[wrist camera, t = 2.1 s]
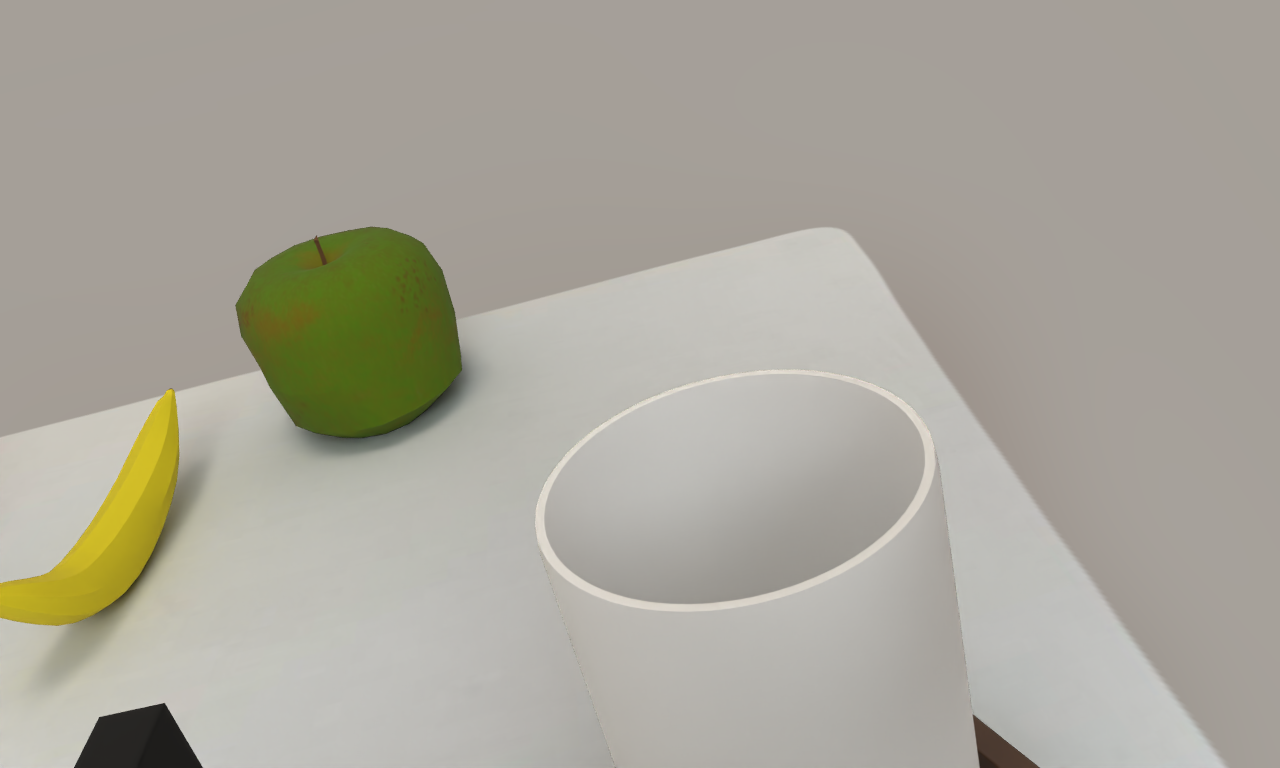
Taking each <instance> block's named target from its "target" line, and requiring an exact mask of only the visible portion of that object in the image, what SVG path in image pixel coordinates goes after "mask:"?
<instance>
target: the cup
mask: <svg viewBox="0 0 1280 768" xmlns="http://www.w3.org/2000/svg"><path fill="white" fill-rule="evenodd" d="M535 530H536V535H537V540H538V545H539V550H540V554H541V558H542V560H543V563H544V566H545V569H546V572H547V575H548V578H549V580H550V583H551V586H552V589H553V592H554V595H555V598H556V600H557V603H558V606H559V609H560V612H561V615H562V618H563V620H564V623H565V626H566V629H567V632H568V635H569V638H570V640H571V643H572V646H573V649H574V652H575V655H576V657H577V660H578V663H579V666H580V669H581V671H582V674H583V677H584V680H585V683H586V686H587V688H588V691H589V694H590V697H591V700H592V703H593V705H594V708H595V711H596V714H597V717H598V720H599V722H600V725H601V728H602V731H603V734H604V736H605V739H606V742H607V745H608V748H609V751H610V753H611V756H612V759H613V762H614V765H615V768H980V766H979V759H978V751H977V744H976V736H975V729H974V721H973V714H972V706H971V699H970V691H969V684H968V676H967V669H966V661H965V654H964V646H963V639H962V631H961V624H960V616H959V608H958V601H957V593H956V586H955V578H954V571H953V563H952V556H951V549H950V541H949V534H948V527H947V519H946V512H945V505H944V497H943V490H942V483H941V475H940V468H939V463H938V458H937V454H936V451H935V447H934V443H933V440H932V437H931V435H930V432H929V430H928V428H927V426H926V425H925V423H924V422H923V420H922V419H921V417H920V416H919V415H918V414H917V413H916V412H915V411H914V410H913V409H912V408H911V407H910V406H909V405H908V404H907V403H905V402H904V401H903V400H901V399H900V398H898V397H897V396H895V395H894V394H892V393H890V392H888V391H887V390H885V389H883V388H881V387H878V386H876V385H873V384H871V383H869V382H866V381H862V380H859V379H856V378H853V377H848V376H844V375H840V374H834V373H828V372H821V371H812V370H794V369H786V370H760V371H751V372H742V373H736V374H729V375H724V376H719V377H714V378H709V379H705V380H701V381H698V382H694V383H690V384H687V385H684V386H681V387H677V388H674V389H672V390H669V391H666V392H663V393H661V394H658V395H656V396H653V397H651V398H649V399H646V400H644V401H642V402H640V403H638V404H636V405H634V406H632V407H630V408H628V409H626V410H624V411H622V412H621V413H619V414H617V415H615V416H614V417H612V418H610V419H609V420H607V421H606V422H604V423H603V424H601V425H600V426H598V427H597V428H596V429H594V430H593V431H591V432H590V433H589V434H588V435H586V436H585V437H584V438H583V439H582V440H580V441H579V442H578V443H577V444H576V445H575V446H574V447H573V448H572V449H571V450H570V451H569V452H568V453H567V454H566V455H565V456H564V457H563V458H562V460H561V461H560V462H559V463H558V464H557V466H556V467H555V468H554V470H553V471H552V473H551V474H550V476H549V478H548V479H547V481H546V483H545V485H544V487H543V489H542V491H541V494H540V497H539V500H538V503H537V508H536V515H535Z"/></svg>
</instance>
